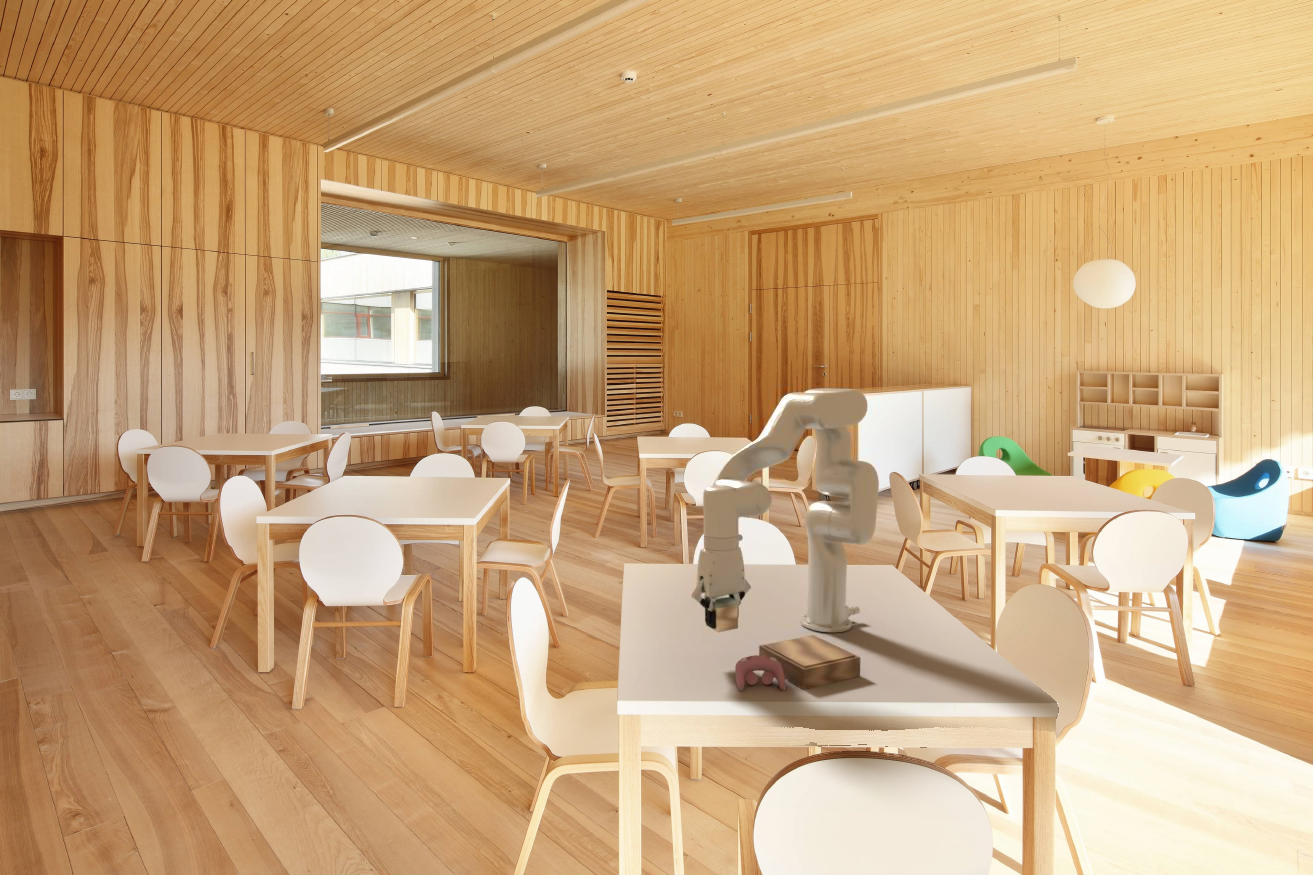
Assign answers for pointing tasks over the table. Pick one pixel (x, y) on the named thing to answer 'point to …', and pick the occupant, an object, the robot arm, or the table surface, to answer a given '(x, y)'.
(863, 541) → the robot arm
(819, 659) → the walnut plinth
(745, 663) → the video game controller
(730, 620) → the maple block
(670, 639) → the table surface
